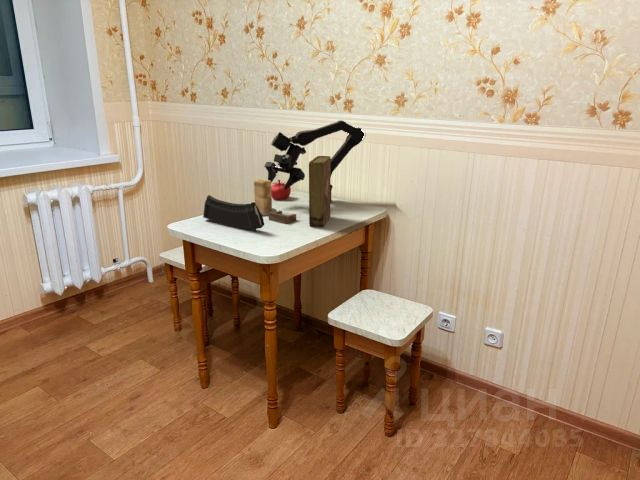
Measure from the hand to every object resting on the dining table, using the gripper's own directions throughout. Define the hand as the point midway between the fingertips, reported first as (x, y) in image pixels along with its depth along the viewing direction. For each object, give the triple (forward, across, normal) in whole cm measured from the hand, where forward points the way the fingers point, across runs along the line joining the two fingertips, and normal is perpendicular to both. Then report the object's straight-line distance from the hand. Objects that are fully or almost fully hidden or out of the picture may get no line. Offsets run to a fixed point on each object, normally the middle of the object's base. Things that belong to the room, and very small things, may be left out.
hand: (276, 187), depth 207 cm
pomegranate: (-3, -10, +20) cm, 22 cm away
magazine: (+27, +2, -16) cm, 31 cm away
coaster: (+13, 0, 0) cm, 13 cm away
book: (+10, +27, 0) cm, 29 cm away
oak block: (+12, 0, 0) cm, 12 cm away
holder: (+14, +13, -3) cm, 20 cm away
